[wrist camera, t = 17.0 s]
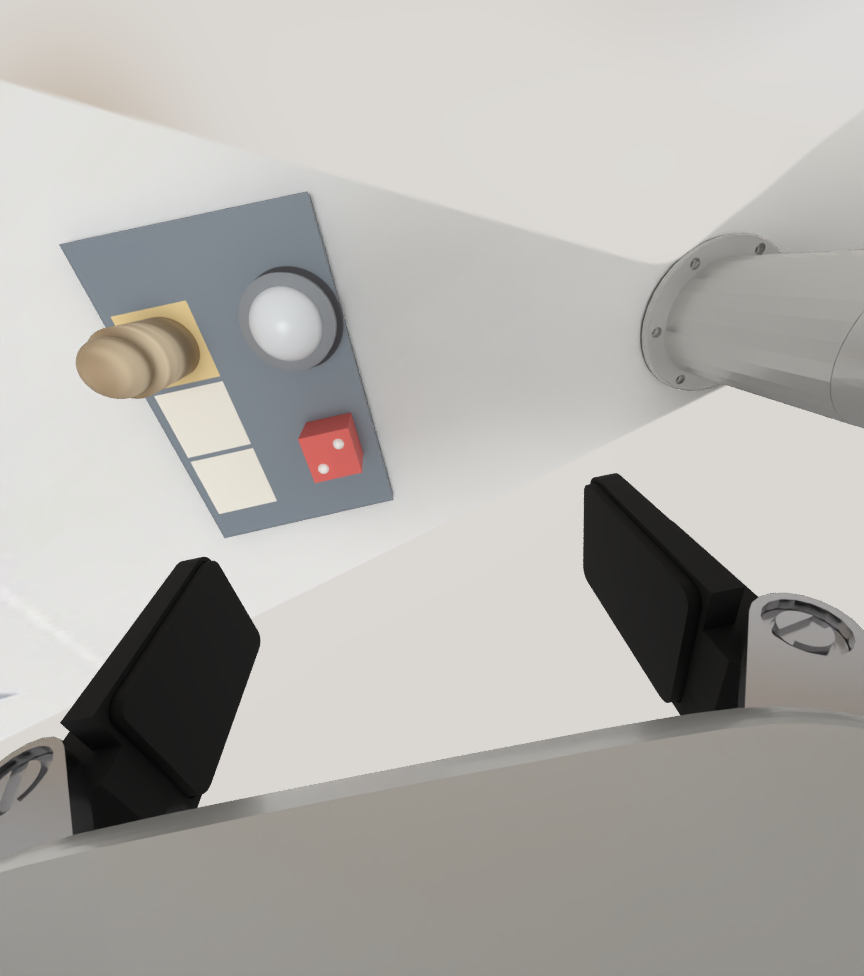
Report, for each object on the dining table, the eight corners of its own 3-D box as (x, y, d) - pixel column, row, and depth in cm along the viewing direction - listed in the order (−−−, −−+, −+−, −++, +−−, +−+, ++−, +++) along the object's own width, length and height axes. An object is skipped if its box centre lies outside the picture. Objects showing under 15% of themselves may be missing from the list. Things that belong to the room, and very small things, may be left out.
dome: (321, 263, 28) (311, 261, 24) (347, 355, 31) (342, 368, 27) (232, 282, 28) (206, 284, 24) (268, 373, 31) (251, 388, 27)
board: (311, 194, 28) (297, 177, 23) (393, 493, 40) (396, 524, 35) (71, 245, 27) (4, 239, 22) (228, 531, 40) (207, 567, 35)
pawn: (184, 312, 29) (116, 327, 21) (209, 371, 31) (156, 405, 23) (123, 322, 29) (33, 341, 21) (153, 381, 31) (81, 419, 23)
